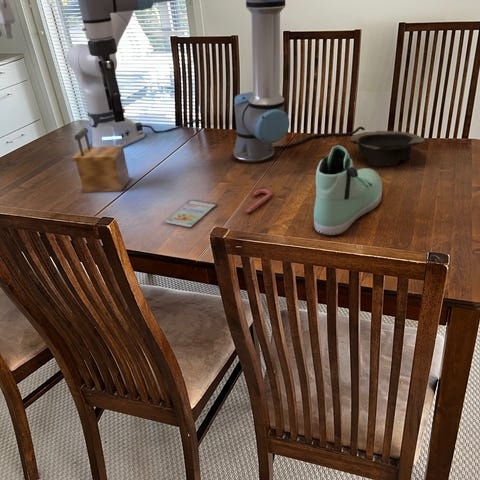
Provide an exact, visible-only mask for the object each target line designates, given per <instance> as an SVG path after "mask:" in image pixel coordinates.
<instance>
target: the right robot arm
mask: <svg viewBox="0 0 480 480" xmlns="http://www.w3.org/2000/svg"><path fill="white" fill-rule="evenodd" d="M175 1H176V0H77V2H78V3H77V4H78V7H79V11H80V15H81V20H82V23H83V27H81V30H82V32H85V33H84V34H85V36H86V39H87V40H88V41H87V45H88V47H89V52H90V55H92V56H98V58H99V61H98V64H99V67H100V71H101V73H102V79H103V84H104V87H105V92H106V97H107V102H108V106H109V110H113V114H114V119H115V122H121V121H125V118H126V117H125V113H123V108H124V107H123V103H122V99H121V98H122V94H121V92H120V88H119V83H118V79H117V75H116V70H115V69H114V62H113V61H112V59H110V56H109V55H110V54H114V53H116V54H117V52H118V47H117V46H116V41H115V39H114V38H113V36H114V29H113V24H112V20H111V15H110V13H116V12H126V11H133V12H135V11H144V10H149V9H153V6H154V4H159V3H166V2H175ZM245 8H246V9H247V10H248V12H249V13H250V15H251V53H252V54H251V55H252V56H251V60H252V63H251V64H252V91H250V92H244V93H243V92H242V93H239V94H237V95H235V97H234V104H233V106H234V115H235V128H236V129H235V130H236V140H235V142H234V147H233V151H232V152H233V154H232V155H233V159H234V160H235V161H238V162H240V163H245V164H257V163H263V162H267V161H269V160H271V159H272V158H273V157H274V156H275V150H276V149H286V148H291V147H294V146H295V147H296V146H298V145H301V144H302V143H305V142H306V141H308V140H311V139H315V138H320V137H333V136H336V137H337V136H340V137H343V136H353V135H355V134H357V132H359V131H360V130H362V131H365V130H366V128H365V127H363V126H358V127H356V129H354V130H353V131H351V132H328V133H318V134H313V135H308V136H307V137H305V138H303V139H301V140H298V141H296V142H293V143H290V144H289V143H288V144H285V145H273V144H274V143H276V142H279V141H281V140H282V139H283V138H284V137H285V136H286V135H287V133H288V131H289V128H290V118H289V116H288V114H287V112H285V98H284V97H283V96H282V95H281V93H280V89H281V87H280V86H281V85H280V82H281V81H280V78H281V76H280V75H281V74H280V73H281V12H282V11H283V10H284V9H285V8H286V0H245ZM124 117H125V118H124Z"/></svg>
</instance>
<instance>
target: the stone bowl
mask: <svg viewBox="0 0 480 480" xmlns="http://www.w3.org/2000/svg"><path fill="white" fill-rule="evenodd" d="M424 142H426V140H425V138H424V137H421V136H419V135H418V134H415V133H413V132H412V133H410V132H408V131H400V130H399V131H397V130H374V131H364V132H360V133H355V134H352V135H350V137H349V143H352V144H355V145H358V151H359V153H360V155H361V156H362V157H363V158H365V159H366V160H368V164H369V165H370V166H373V167H375V166H377V167H387V166H395V165H398V164H399V162H400V161H408V160H410V158H411V155H412V147H415V146H418V145H420V144H422V143H424Z"/></svg>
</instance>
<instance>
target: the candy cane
mask: <svg viewBox="0 0 480 480" xmlns="http://www.w3.org/2000/svg"><path fill="white" fill-rule="evenodd" d="M261 194H265V195H264V196H263V197H262V198H260V199H259V200H257V201H256V202H255V203H254V204H252V205H251V206H250V207H248V208H247V209H246V210H245V213H246V214H248V215H249V214H251V213H252V212H254V211H255V210H257V209H258V208H259V207H260V206H261V205H263V204H264V203H265V202H267V201H268V200H269V199H271V198H272V197H273V192H272V191H271V190H270V189H266V188H260V189H256V190H255V191H253V193H252V196H253V197H257V196H258V195H261Z"/></svg>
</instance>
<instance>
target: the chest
mask: <svg viewBox="0 0 480 480" xmlns="http://www.w3.org/2000/svg"><path fill="white" fill-rule="evenodd" d="M75 164H76V167H77V171H78V175H79V179H80V182H81V186H82V190H83V193H93V192H94V193H95V192H96V193H97V192H123V190H124V189H125V187H126V185H127V184H128V183H129V181H130V175H129V169H128V165H127V160H126V156H125V151H124V149H123V151H122V152H121V153H120V154H119V156H118V157H117V158H116V159H115V160H101V161H75Z"/></svg>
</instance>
